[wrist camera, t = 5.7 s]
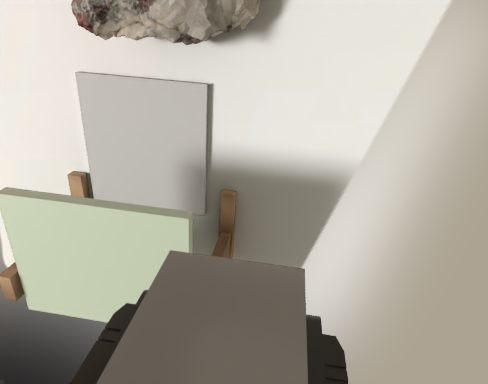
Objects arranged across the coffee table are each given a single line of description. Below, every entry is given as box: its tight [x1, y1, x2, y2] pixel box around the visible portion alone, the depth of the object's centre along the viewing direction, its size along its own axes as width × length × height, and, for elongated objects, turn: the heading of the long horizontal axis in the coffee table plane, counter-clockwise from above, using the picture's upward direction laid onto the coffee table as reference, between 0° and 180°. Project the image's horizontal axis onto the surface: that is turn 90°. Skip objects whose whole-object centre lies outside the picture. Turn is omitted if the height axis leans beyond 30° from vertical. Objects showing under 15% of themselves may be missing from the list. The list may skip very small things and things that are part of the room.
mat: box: [75, 72, 208, 216], centre depth 33 cm, size 13×12×1 cm
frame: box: [0, 171, 237, 301], centre depth 31 cm, size 8×18×12 cm, turn 86°
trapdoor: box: [0, 187, 193, 322], centre depth 28 cm, size 12×14×5 cm
